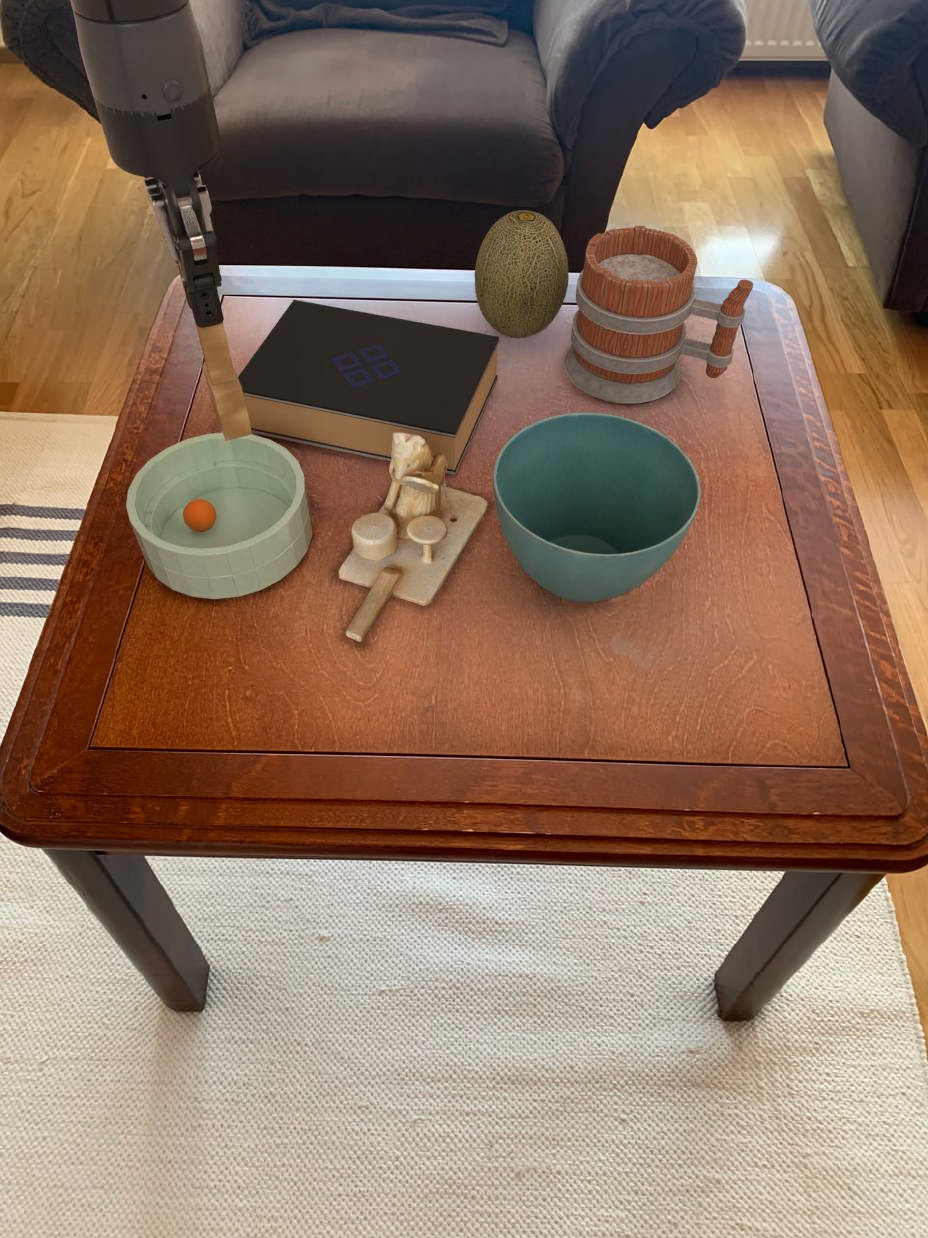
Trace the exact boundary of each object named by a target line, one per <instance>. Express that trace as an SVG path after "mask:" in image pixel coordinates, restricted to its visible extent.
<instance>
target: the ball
mask: <svg viewBox="0 0 928 1238" xmlns="http://www.w3.org/2000/svg"><path fill="white" fill-rule="evenodd" d="M183 518H184V521H185V523H186V525H187V526H188V527H189V528H190V529H192V530H194V531H199V532H201V531H206V530H208V529H210V528H211V527H212V526H213V525H214V523H215V521H216V511H215V508H214V507H213V505H212V504H211V503H209V502H208V501H206V500H202V499H196V500H193V501H191V502H189V503H188V504H187V505H186V507H185V508H184V511H183Z"/></svg>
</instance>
